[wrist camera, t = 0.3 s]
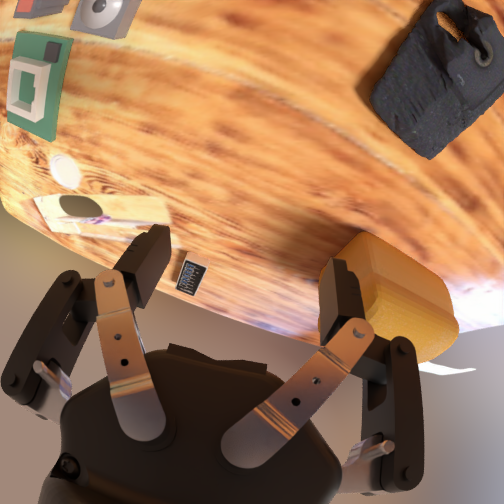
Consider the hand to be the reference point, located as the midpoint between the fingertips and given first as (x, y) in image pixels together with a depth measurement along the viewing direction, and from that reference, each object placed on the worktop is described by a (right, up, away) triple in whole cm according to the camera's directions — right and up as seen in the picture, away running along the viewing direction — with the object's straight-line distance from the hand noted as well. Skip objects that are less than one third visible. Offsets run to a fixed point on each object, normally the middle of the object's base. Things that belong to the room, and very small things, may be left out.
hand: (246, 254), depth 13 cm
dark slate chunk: (+23, +21, +6) cm, 32 cm away
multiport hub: (-11, -3, +39) cm, 41 cm away
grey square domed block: (-16, +30, +5) cm, 34 cm away
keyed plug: (-27, +35, +2) cm, 44 cm away
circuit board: (-34, +27, +12) cm, 45 cm away
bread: (+25, -4, +32) cm, 41 cm away
